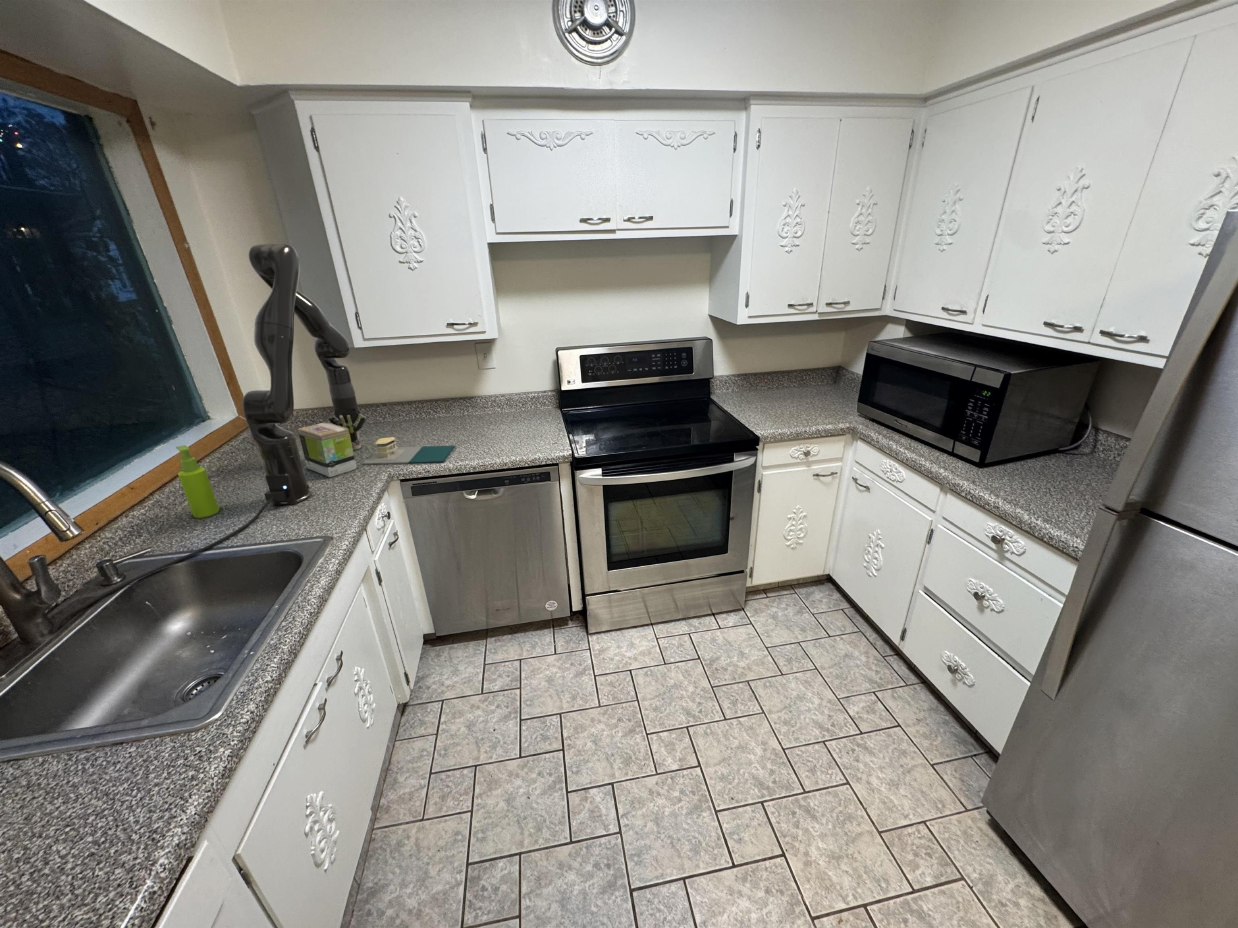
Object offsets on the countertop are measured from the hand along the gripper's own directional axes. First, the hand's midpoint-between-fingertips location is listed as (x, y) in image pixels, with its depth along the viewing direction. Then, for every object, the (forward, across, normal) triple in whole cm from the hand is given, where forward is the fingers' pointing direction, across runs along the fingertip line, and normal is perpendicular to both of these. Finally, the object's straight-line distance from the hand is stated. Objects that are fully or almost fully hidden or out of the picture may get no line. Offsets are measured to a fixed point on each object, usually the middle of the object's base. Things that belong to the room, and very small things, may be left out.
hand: (353, 441), depth 182 cm
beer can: (+6, -4, +9) cm, 12 cm away
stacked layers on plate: (+5, +11, 0) cm, 13 cm away
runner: (+6, +19, 0) cm, 20 cm away
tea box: (+6, -4, -11) cm, 13 cm away
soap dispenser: (+6, -25, -42) cm, 49 cm away
